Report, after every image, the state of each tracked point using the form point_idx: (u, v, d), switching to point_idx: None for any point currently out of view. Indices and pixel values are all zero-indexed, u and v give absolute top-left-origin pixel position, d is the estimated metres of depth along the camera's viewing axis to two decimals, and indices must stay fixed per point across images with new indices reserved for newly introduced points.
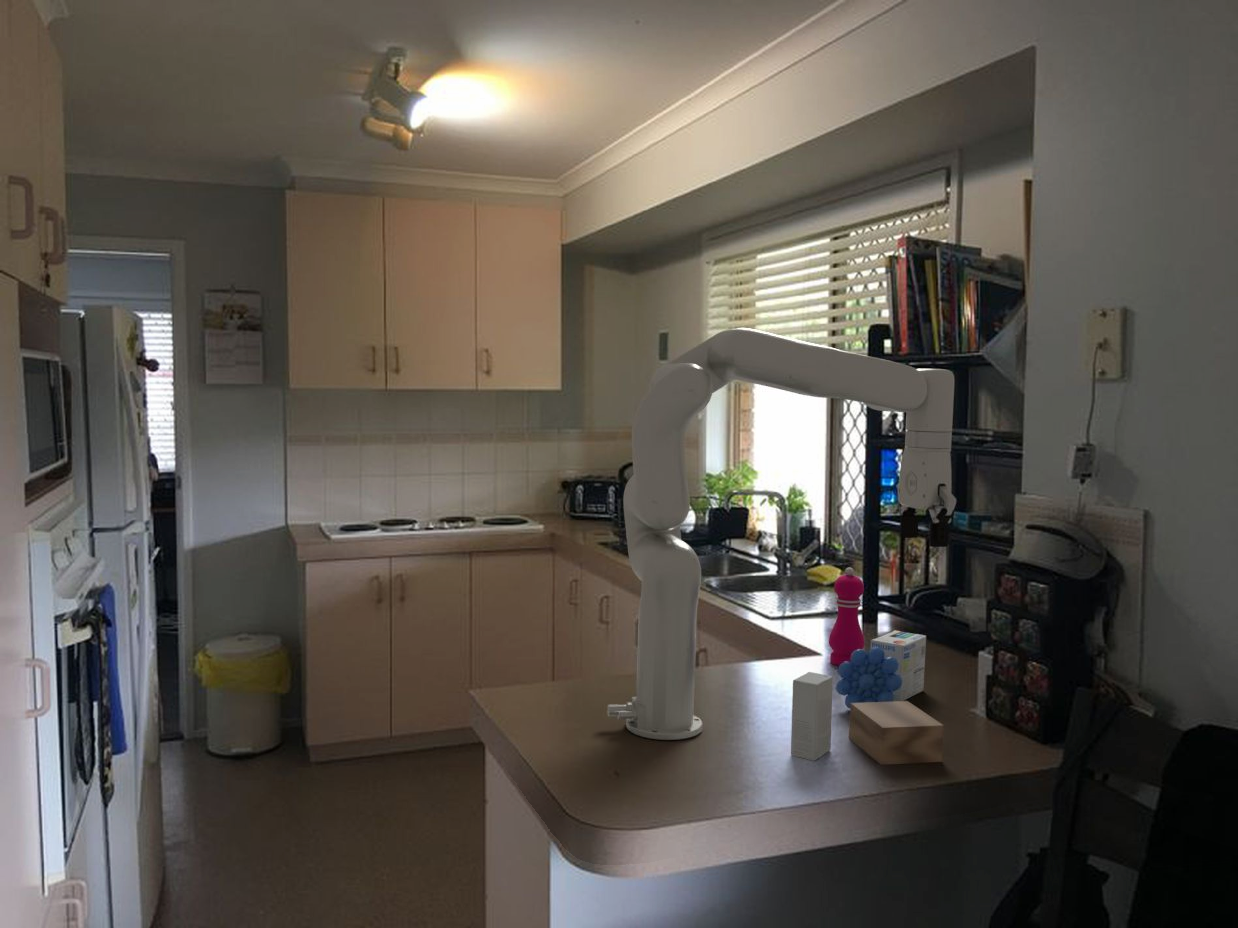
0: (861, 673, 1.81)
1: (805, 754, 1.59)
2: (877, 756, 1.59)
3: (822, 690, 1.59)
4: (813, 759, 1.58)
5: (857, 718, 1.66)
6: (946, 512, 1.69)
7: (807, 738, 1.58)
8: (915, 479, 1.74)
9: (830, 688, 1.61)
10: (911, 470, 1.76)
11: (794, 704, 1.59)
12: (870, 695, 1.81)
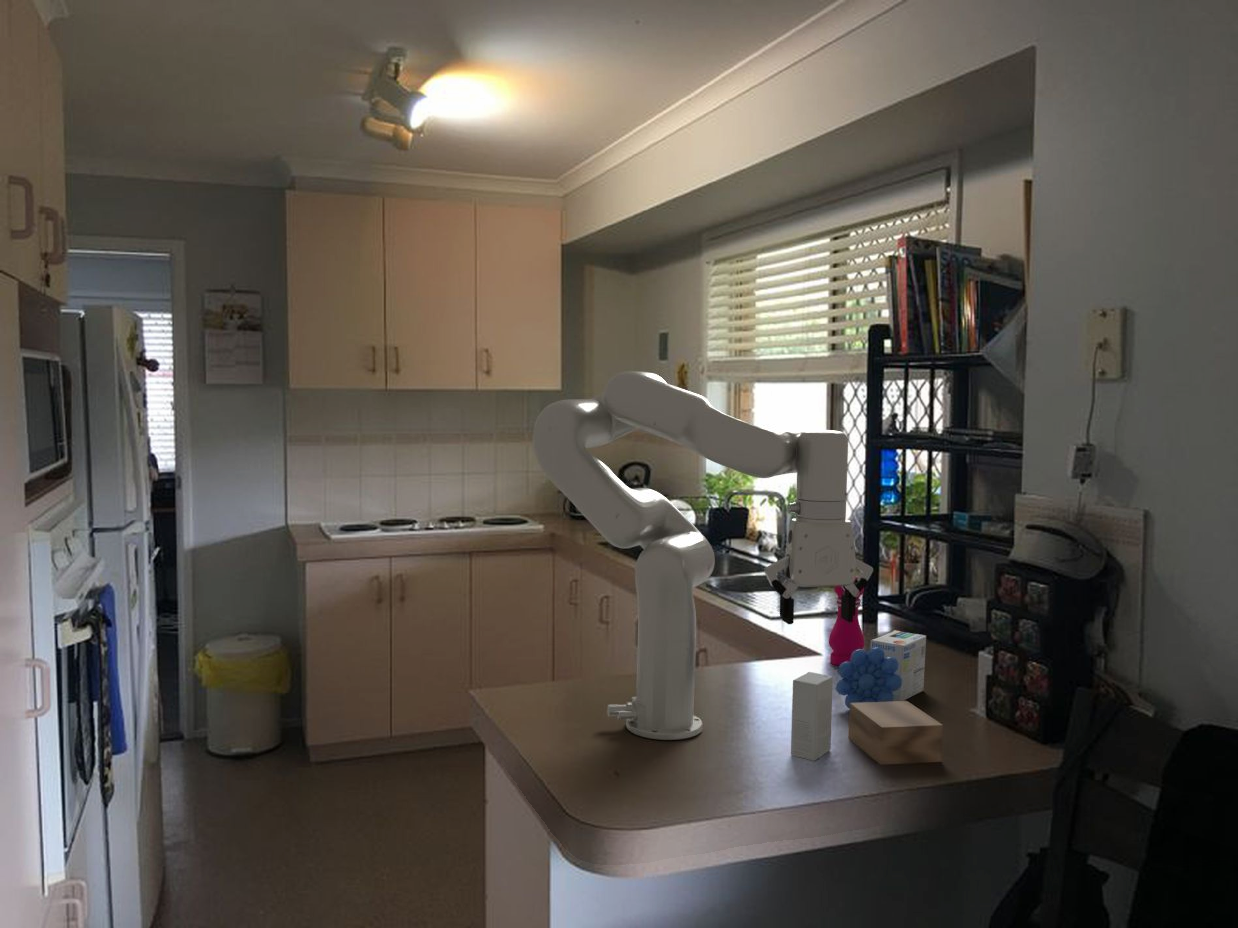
0: (861, 673, 1.81)
1: (805, 754, 1.59)
2: (876, 756, 1.59)
3: (822, 690, 1.59)
4: (813, 759, 1.58)
5: (857, 718, 1.66)
6: (866, 582, 1.60)
7: (807, 738, 1.58)
8: (834, 554, 1.56)
9: (830, 688, 1.61)
10: (826, 545, 1.56)
11: (794, 704, 1.59)
12: (870, 695, 1.81)
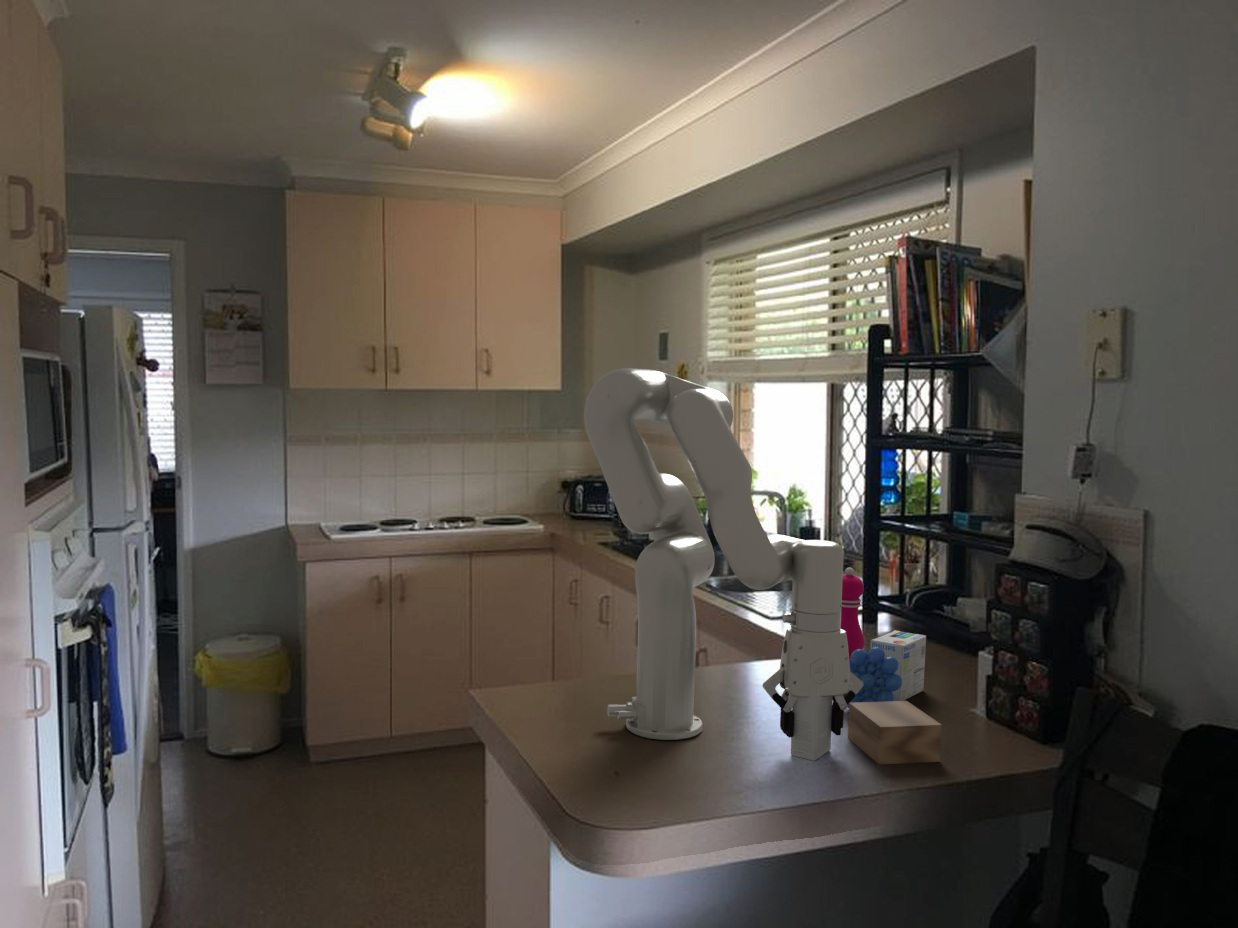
0: (861, 673, 1.81)
1: (805, 754, 1.59)
2: (875, 755, 1.59)
3: None
4: (813, 759, 1.58)
5: (856, 718, 1.66)
6: (854, 695, 1.62)
7: (807, 738, 1.58)
8: (829, 665, 1.58)
9: None
10: (821, 656, 1.57)
11: (794, 704, 1.59)
12: (870, 695, 1.81)
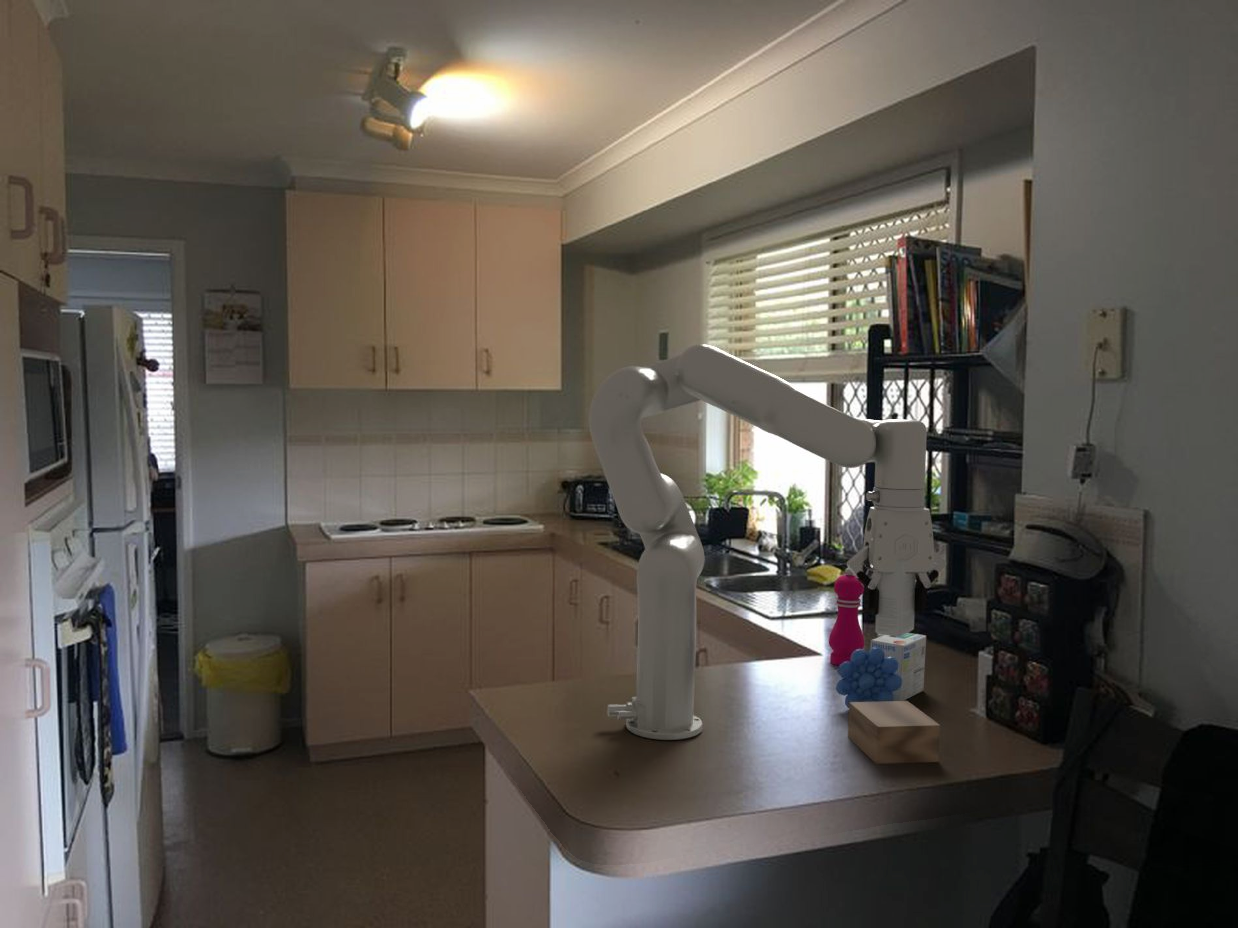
0: (861, 673, 1.81)
1: (890, 631, 1.60)
2: (873, 755, 1.59)
3: None
4: (898, 635, 1.59)
5: (855, 718, 1.66)
6: (937, 574, 1.62)
7: (892, 614, 1.59)
8: (913, 541, 1.59)
9: None
10: (905, 533, 1.58)
11: (878, 582, 1.60)
12: (870, 695, 1.81)
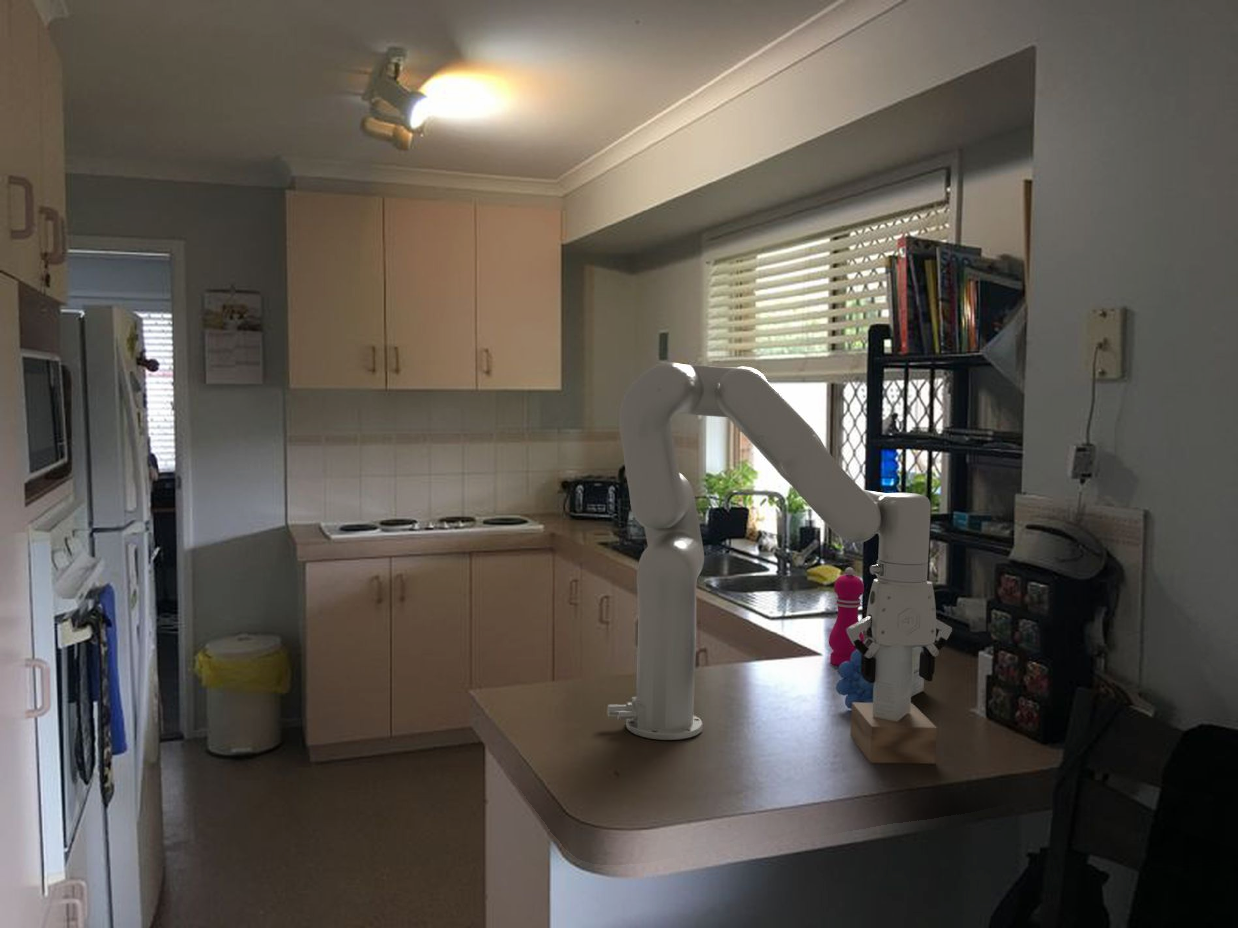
0: None
1: (887, 715, 1.61)
2: (868, 755, 1.59)
3: (904, 652, 1.61)
4: (896, 720, 1.60)
5: (856, 718, 1.67)
6: None
7: (889, 699, 1.61)
8: (916, 615, 1.60)
9: (910, 650, 1.63)
10: (909, 607, 1.60)
11: (876, 666, 1.61)
12: (870, 695, 1.81)
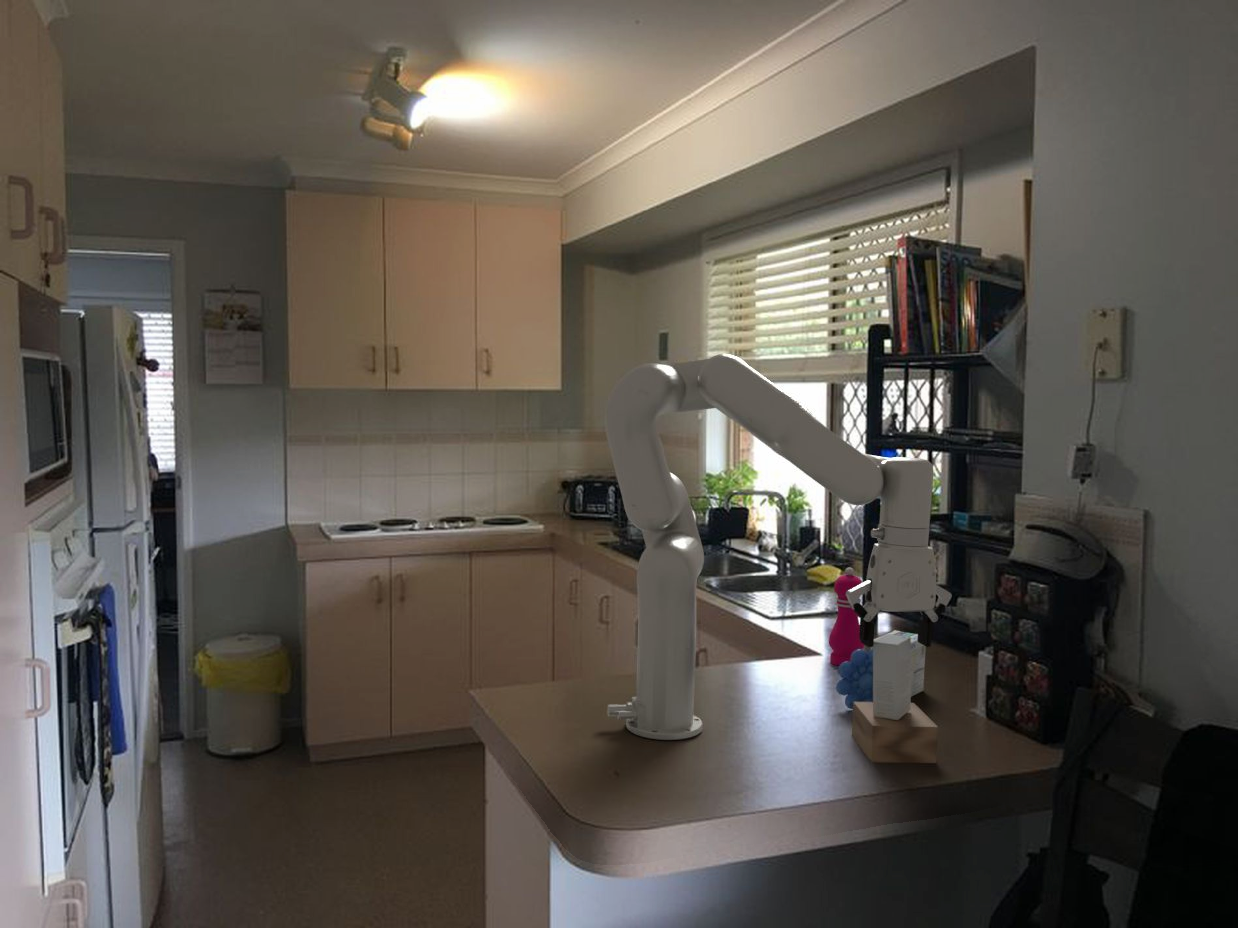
0: (861, 673, 1.81)
1: (888, 714, 1.61)
2: (869, 754, 1.60)
3: (902, 651, 1.61)
4: (896, 718, 1.60)
5: (857, 717, 1.67)
6: None
7: (889, 698, 1.61)
8: (916, 580, 1.60)
9: (908, 648, 1.63)
10: (909, 571, 1.59)
11: (875, 665, 1.62)
12: (870, 695, 1.81)
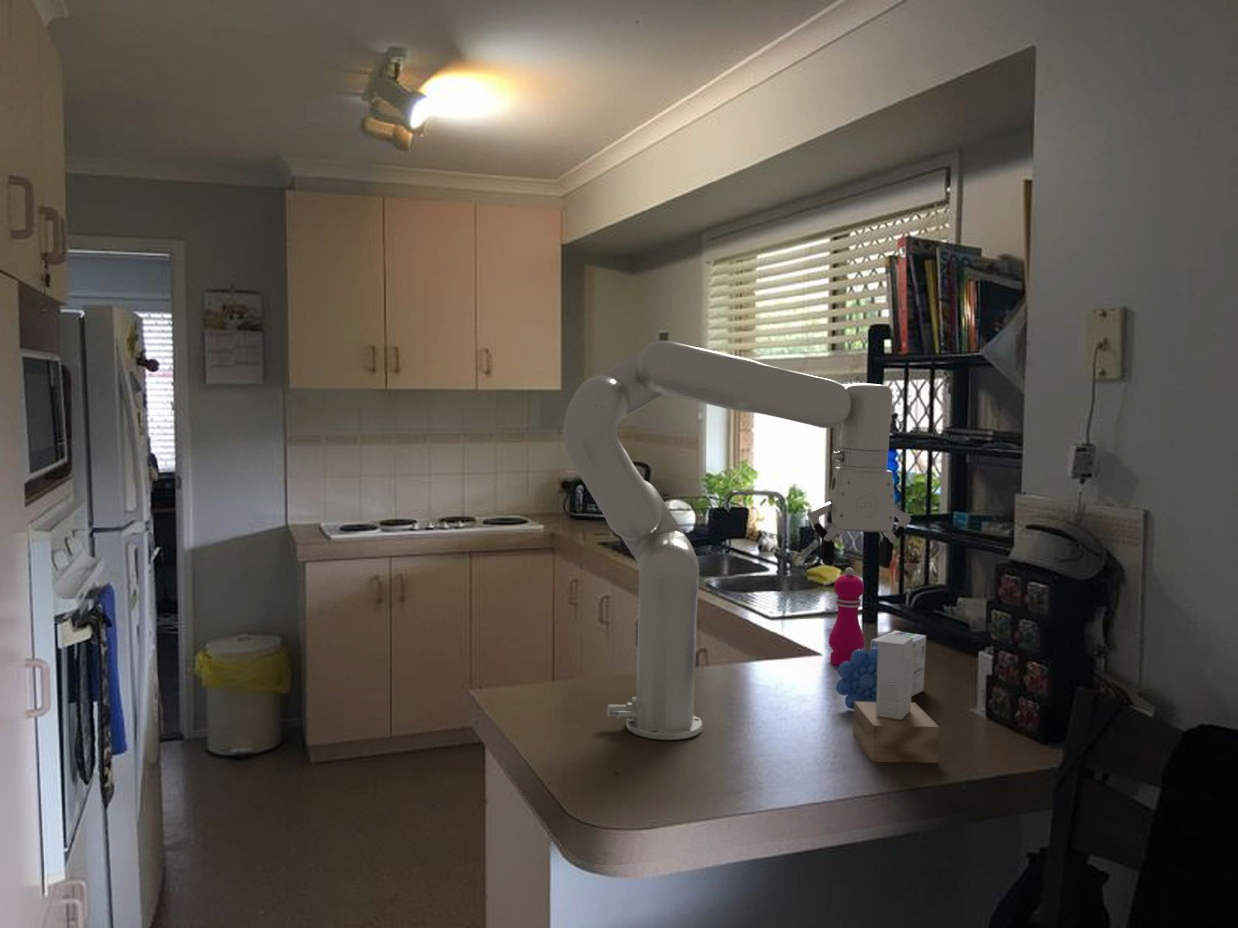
0: (861, 673, 1.81)
1: (892, 713, 1.61)
2: (870, 754, 1.60)
3: (906, 650, 1.62)
4: (900, 718, 1.61)
5: (858, 717, 1.67)
6: None
7: (893, 697, 1.61)
8: (875, 501, 1.65)
9: (911, 648, 1.64)
10: (867, 492, 1.65)
11: (879, 665, 1.62)
12: (870, 695, 1.81)
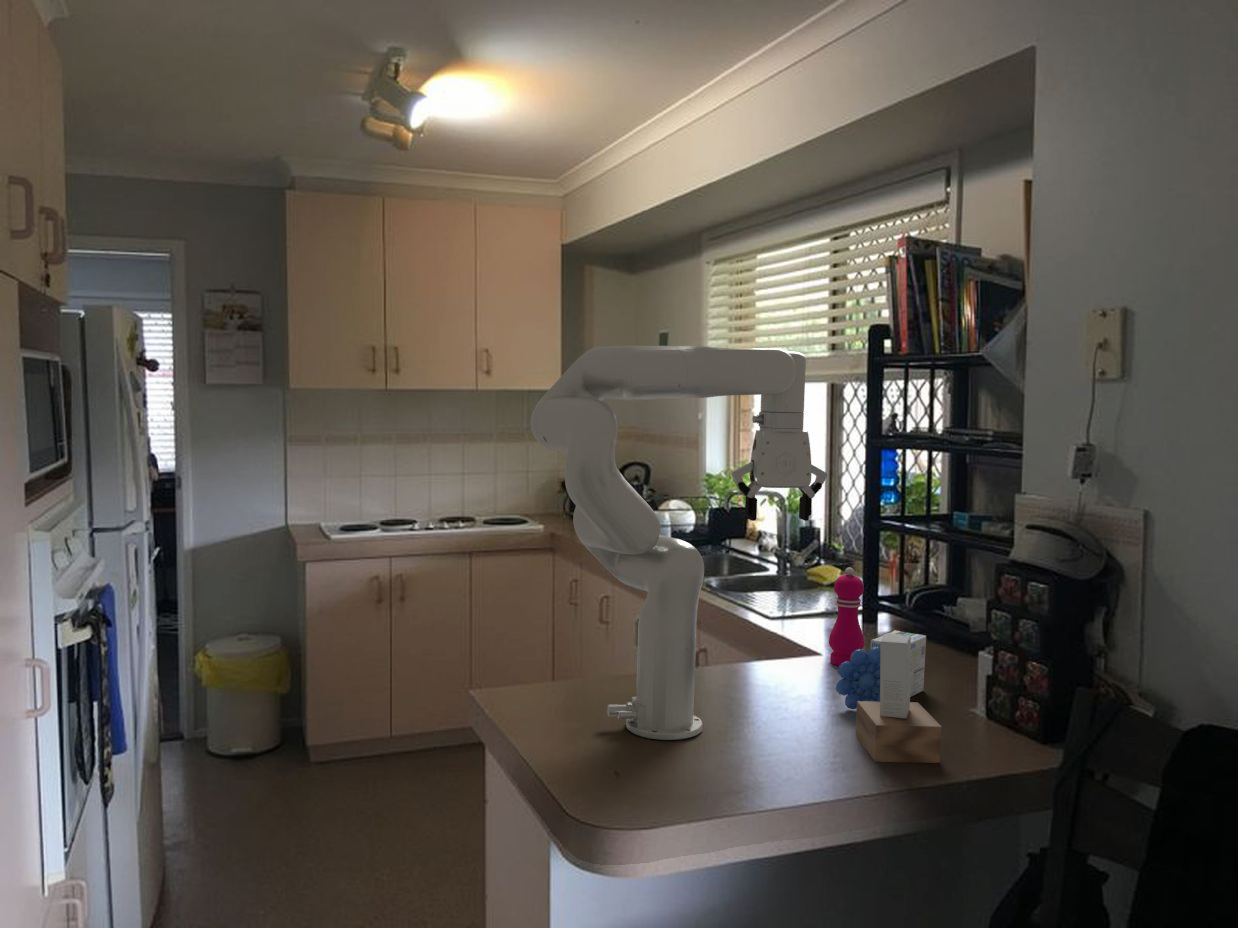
0: (861, 673, 1.81)
1: (896, 713, 1.61)
2: (872, 753, 1.60)
3: (908, 649, 1.62)
4: (905, 717, 1.61)
5: (861, 716, 1.67)
6: (821, 486, 1.83)
7: (898, 697, 1.61)
8: (793, 459, 1.79)
9: (910, 646, 1.65)
10: (785, 451, 1.79)
11: (883, 665, 1.62)
12: (870, 695, 1.81)
